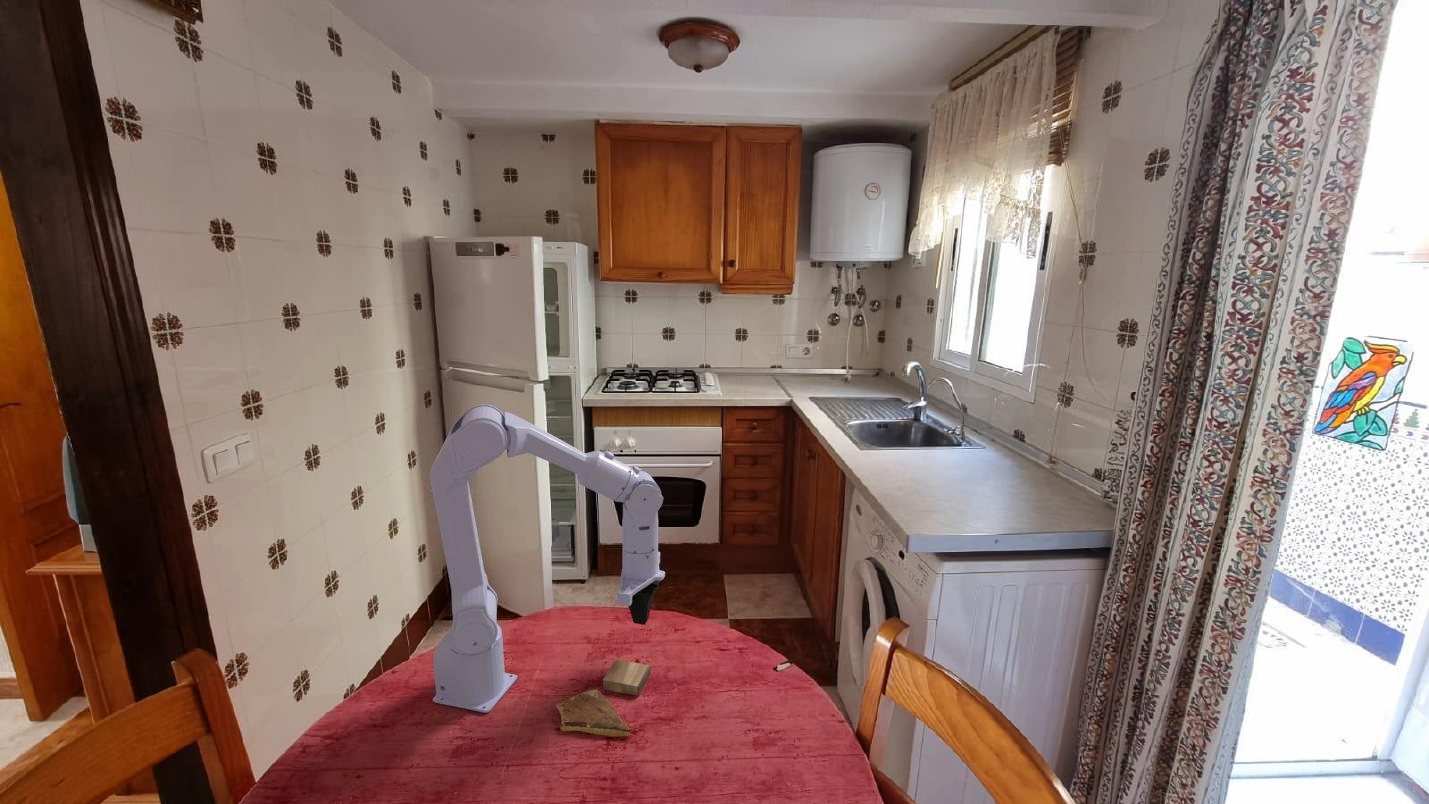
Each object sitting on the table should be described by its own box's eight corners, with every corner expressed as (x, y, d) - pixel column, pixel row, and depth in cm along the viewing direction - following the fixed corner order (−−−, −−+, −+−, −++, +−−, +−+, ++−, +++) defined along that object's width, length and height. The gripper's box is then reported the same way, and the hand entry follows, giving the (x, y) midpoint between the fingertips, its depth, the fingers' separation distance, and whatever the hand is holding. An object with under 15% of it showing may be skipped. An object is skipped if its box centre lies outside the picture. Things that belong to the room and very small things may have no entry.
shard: (631, 740, 79) (631, 729, 79) (579, 766, 75) (579, 755, 74) (598, 695, 88) (598, 684, 87) (549, 716, 83) (549, 705, 83)
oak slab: (602, 679, 88) (639, 686, 87) (615, 659, 93) (650, 665, 92) (603, 689, 89) (639, 697, 87) (615, 669, 93) (650, 675, 92)
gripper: (648, 570, 84) (648, 652, 87) (677, 530, 98) (676, 602, 101) (604, 564, 86) (605, 645, 88) (638, 525, 99) (638, 596, 102)
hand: (640, 621), depth 95 cm, fingers closed
